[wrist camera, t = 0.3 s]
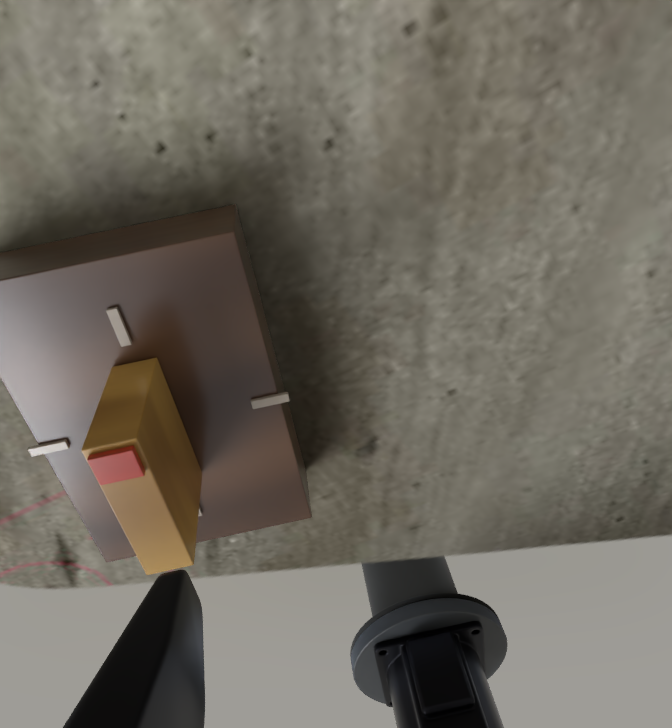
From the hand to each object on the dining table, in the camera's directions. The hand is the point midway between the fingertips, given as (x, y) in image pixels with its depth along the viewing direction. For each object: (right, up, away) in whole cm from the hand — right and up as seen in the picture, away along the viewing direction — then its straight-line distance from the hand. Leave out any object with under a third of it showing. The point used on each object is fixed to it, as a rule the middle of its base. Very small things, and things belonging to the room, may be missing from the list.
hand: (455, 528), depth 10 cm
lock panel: (-9, +2, +15) cm, 17 cm away
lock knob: (-8, 0, +12) cm, 15 cm away
